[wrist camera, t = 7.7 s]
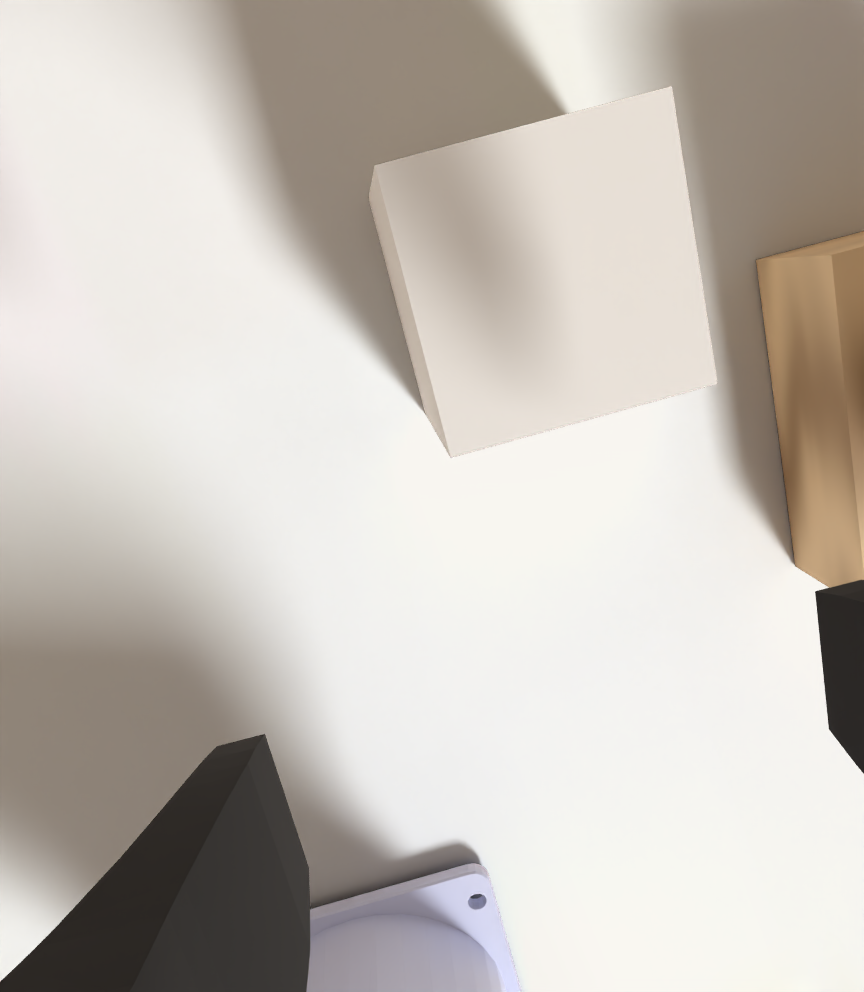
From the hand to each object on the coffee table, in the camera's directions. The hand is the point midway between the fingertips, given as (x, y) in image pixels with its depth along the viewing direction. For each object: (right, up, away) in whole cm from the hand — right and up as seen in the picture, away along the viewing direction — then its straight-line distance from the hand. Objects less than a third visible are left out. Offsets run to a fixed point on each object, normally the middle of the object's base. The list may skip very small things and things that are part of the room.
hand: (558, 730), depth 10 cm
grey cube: (0, +8, +8) cm, 11 cm away
